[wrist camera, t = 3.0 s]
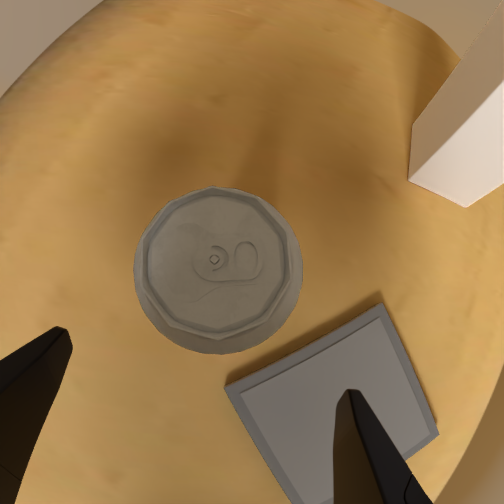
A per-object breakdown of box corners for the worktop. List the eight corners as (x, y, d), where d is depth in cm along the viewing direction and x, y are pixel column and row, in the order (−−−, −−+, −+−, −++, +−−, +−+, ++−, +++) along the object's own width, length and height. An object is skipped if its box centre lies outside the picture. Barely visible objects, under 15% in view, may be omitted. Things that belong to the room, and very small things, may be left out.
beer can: (187, 265, 20) (127, 179, 8) (264, 261, 20) (299, 168, 9) (191, 343, 19) (124, 358, 7) (270, 339, 19) (318, 349, 8)
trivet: (300, 513, 16) (302, 519, 15) (224, 385, 18) (223, 388, 17) (433, 432, 18) (440, 434, 17) (377, 303, 20) (383, 302, 19)
